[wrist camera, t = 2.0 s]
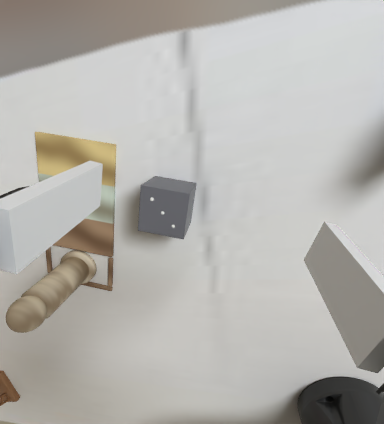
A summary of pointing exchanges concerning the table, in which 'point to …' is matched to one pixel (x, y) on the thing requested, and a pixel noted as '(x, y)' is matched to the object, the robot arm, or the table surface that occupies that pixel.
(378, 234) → the table surface
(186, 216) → the die
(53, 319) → the table surface
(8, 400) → the gingerbread man figurine
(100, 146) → the board
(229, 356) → the table surface
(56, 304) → the pawn
